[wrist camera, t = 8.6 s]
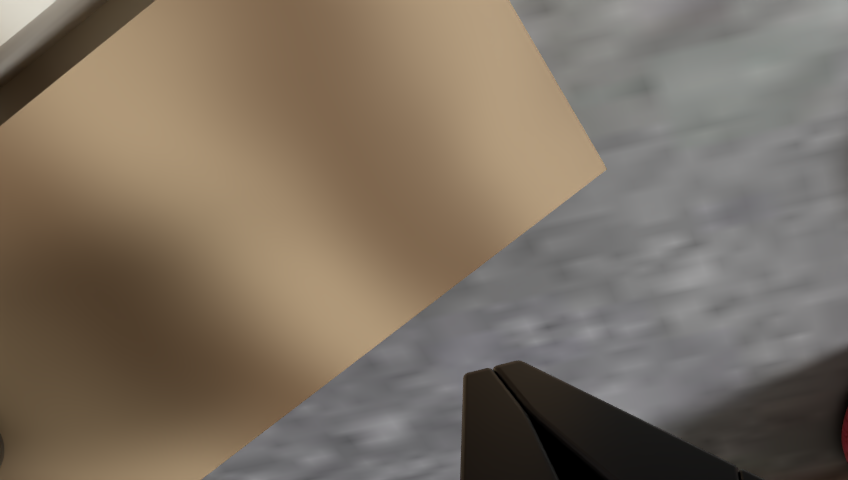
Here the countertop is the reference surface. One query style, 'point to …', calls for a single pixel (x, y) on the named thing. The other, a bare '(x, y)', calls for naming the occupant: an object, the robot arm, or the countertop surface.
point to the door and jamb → (245, 207)
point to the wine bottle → (845, 435)
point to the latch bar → (1, 450)
